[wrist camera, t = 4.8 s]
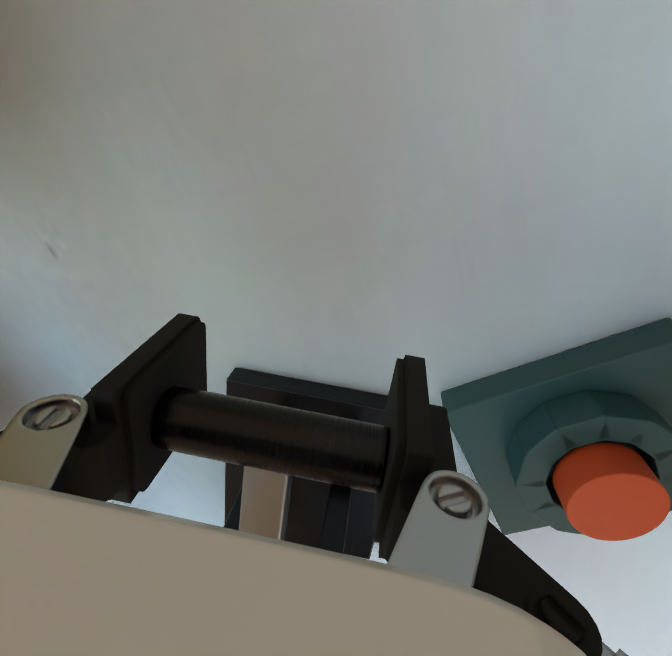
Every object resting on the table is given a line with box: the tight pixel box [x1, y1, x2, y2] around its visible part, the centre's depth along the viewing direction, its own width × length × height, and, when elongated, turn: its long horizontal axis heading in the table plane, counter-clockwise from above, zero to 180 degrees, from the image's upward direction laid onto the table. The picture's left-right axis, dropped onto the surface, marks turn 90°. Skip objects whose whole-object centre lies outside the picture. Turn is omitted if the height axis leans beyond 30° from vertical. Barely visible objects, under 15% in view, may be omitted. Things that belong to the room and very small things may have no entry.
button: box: [552, 442, 670, 541], centre depth 17 cm, size 4×4×2 cm
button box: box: [441, 318, 672, 535], centre depth 19 cm, size 10×8×4 cm
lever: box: [151, 386, 390, 541], centre depth 12 cm, size 13×6×2 cm, turn 173°
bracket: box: [224, 368, 388, 559], centre depth 18 cm, size 11×9×13 cm
